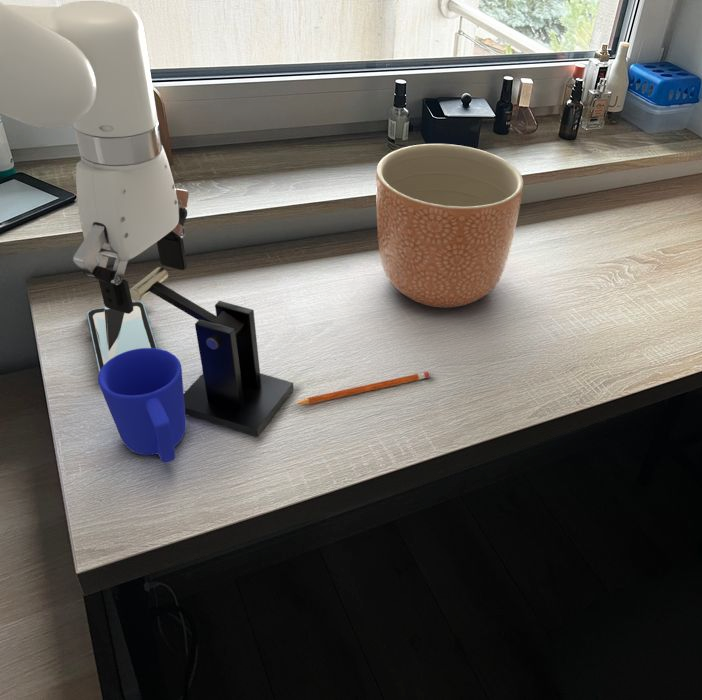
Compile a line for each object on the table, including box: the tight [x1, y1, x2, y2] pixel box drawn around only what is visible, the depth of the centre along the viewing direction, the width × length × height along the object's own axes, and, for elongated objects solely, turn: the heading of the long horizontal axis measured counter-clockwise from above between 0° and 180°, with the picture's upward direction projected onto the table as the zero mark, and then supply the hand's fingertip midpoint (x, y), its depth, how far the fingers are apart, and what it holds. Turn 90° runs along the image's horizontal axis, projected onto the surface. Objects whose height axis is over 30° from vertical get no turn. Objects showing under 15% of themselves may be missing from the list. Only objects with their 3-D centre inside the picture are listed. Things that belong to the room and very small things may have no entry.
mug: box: [97, 348, 187, 464], centre depth 79 cm, size 8×12×10 cm
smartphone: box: [86, 300, 159, 373], centre depth 95 cm, size 7×1×15 cm
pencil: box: [294, 371, 430, 405], centre depth 92 cm, size 1×18×1 cm, turn 115°
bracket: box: [184, 300, 295, 437], centre depth 85 cm, size 11×9×13 cm
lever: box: [129, 266, 244, 340], centre depth 82 cm, size 12×5×2 cm, turn 75°
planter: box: [375, 143, 525, 308], centre depth 107 cm, size 21×21×19 cm
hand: (148, 287), depth 81 cm, fingers open, 9 cm apart
